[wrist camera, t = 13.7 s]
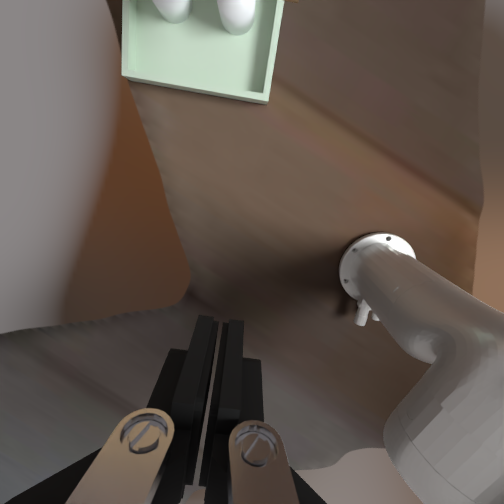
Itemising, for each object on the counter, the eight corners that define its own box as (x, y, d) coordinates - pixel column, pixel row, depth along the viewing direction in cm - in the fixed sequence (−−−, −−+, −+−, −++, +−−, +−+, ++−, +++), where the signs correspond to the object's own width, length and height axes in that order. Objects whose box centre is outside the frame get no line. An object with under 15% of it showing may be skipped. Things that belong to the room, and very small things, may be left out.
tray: (266, 105, 42) (268, 101, 39) (131, 80, 41) (121, 75, 38) (287, -27, 37) (290, -42, 34) (134, -58, 36) (123, -77, 33)
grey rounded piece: (252, 38, 38) (252, 20, 33) (218, 32, 38) (213, 13, 33) (257, -3, 37) (258, -28, 32) (222, -10, 37) (218, -36, 32)
